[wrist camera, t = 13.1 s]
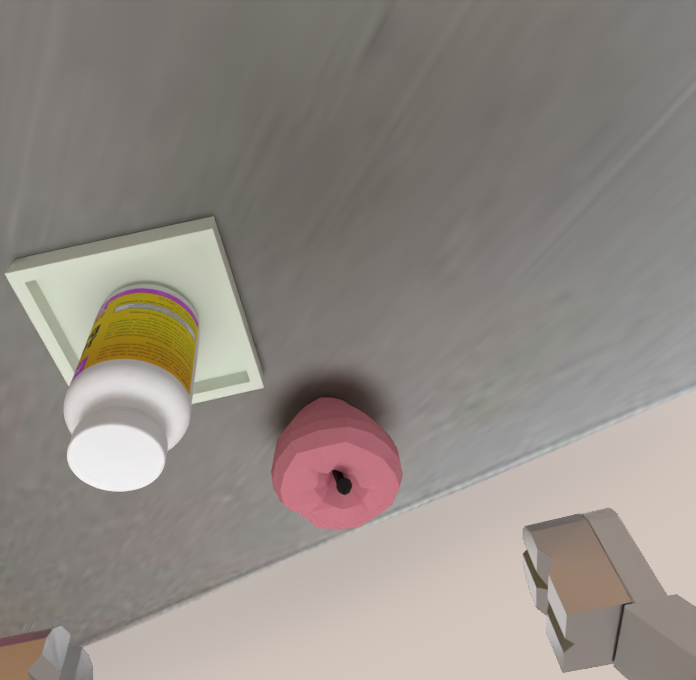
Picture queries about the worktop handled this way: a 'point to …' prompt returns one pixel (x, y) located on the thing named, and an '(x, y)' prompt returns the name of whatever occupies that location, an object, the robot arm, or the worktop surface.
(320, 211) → the worktop surface
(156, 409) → the supplement bottle
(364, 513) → the apple
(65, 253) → the tray
